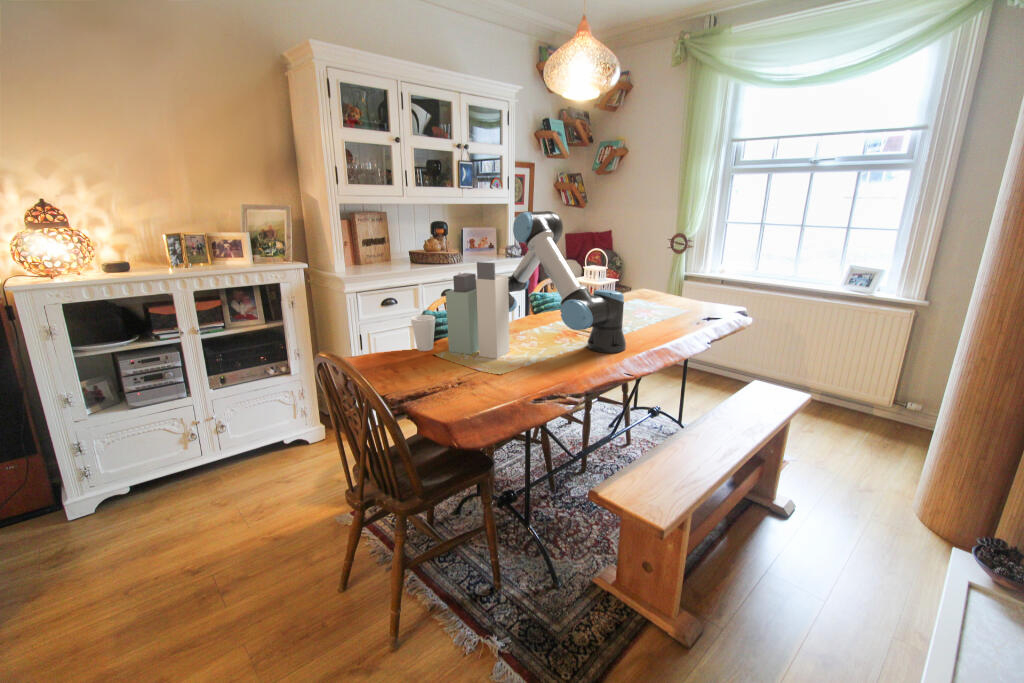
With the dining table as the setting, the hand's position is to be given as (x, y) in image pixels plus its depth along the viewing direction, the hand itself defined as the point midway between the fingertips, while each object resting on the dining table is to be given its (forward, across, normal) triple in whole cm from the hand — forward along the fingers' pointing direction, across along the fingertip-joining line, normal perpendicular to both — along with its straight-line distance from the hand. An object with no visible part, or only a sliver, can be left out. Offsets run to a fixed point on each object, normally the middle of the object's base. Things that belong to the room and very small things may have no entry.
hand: (473, 276), depth 188 cm
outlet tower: (-8, +13, +28) cm, 32 cm away
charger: (0, 0, +5) cm, 5 cm away
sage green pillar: (-8, 0, +28) cm, 29 cm away
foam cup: (-3, -16, +31) cm, 35 cm away
